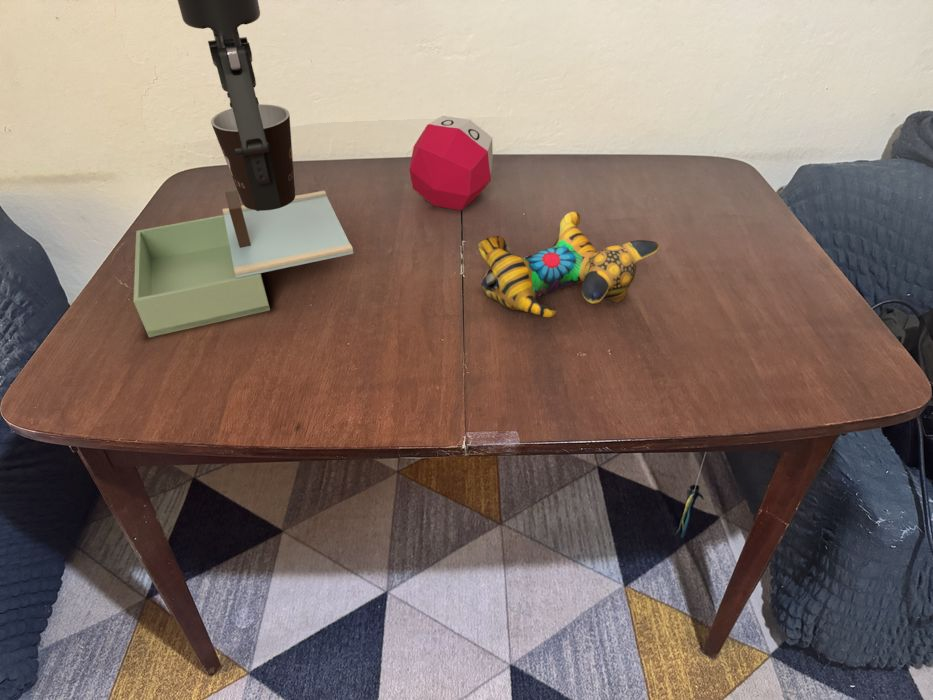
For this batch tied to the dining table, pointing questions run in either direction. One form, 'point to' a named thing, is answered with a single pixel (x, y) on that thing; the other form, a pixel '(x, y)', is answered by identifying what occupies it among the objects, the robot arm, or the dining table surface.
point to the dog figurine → (560, 269)
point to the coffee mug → (279, 149)
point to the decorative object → (451, 162)
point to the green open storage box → (191, 278)
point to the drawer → (283, 234)
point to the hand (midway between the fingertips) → (262, 184)
